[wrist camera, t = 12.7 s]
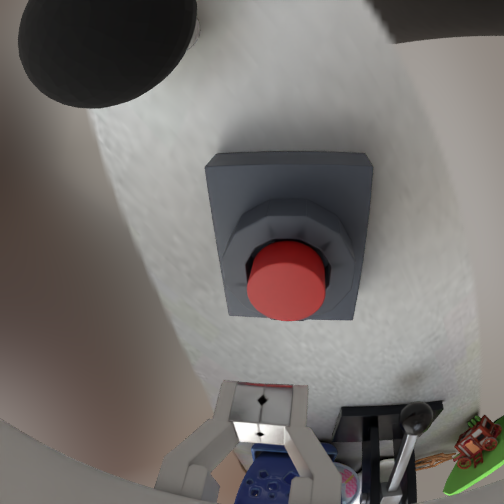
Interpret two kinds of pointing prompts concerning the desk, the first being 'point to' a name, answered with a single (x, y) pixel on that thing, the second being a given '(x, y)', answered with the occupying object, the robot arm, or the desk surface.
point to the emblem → (433, 460)
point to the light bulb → (104, 47)
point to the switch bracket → (370, 433)
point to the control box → (291, 218)
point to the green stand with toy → (477, 454)
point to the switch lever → (406, 448)
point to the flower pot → (271, 475)
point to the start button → (287, 281)
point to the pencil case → (348, 483)
